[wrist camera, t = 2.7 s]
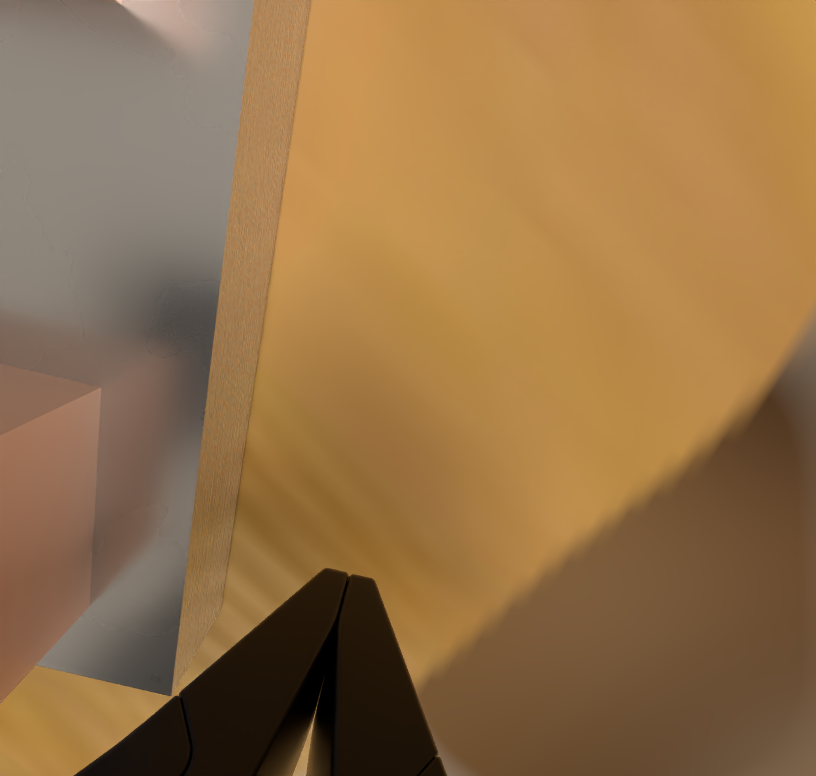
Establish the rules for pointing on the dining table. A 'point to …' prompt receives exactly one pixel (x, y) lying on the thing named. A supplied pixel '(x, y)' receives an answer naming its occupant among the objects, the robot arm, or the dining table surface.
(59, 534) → the tile
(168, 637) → the plate
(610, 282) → the dining table surface
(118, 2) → the tile
